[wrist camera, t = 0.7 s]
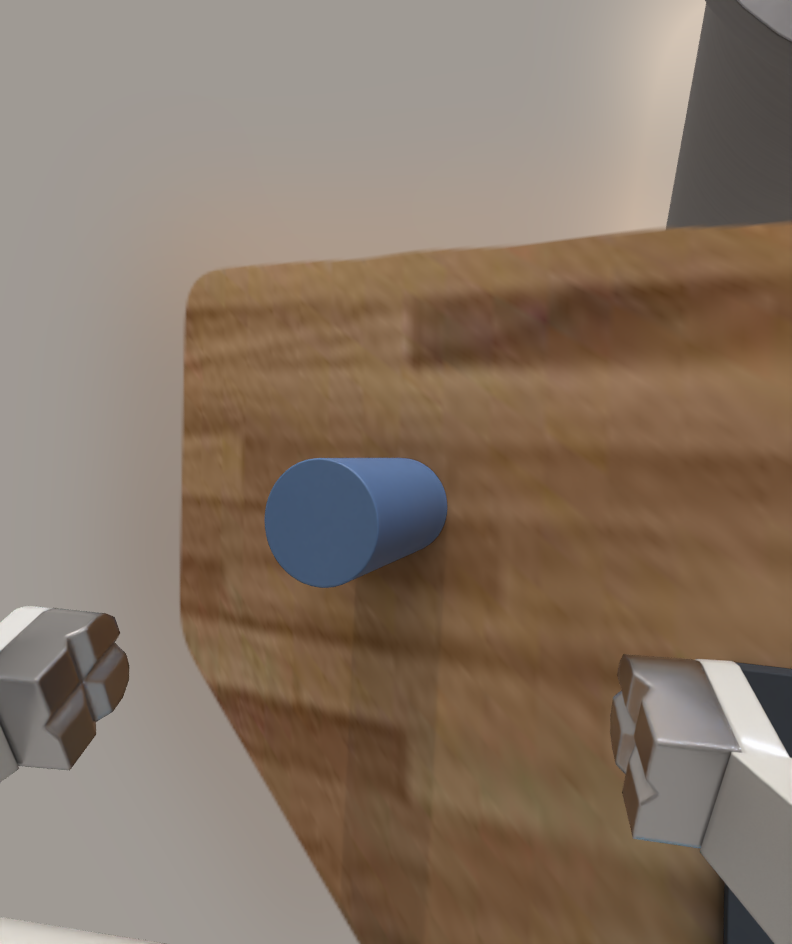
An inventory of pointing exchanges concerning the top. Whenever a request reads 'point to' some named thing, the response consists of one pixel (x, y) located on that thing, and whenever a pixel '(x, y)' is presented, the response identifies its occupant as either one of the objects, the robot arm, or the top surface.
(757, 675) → the mat
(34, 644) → the robot arm
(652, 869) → the top surface
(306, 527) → the cylinder block
